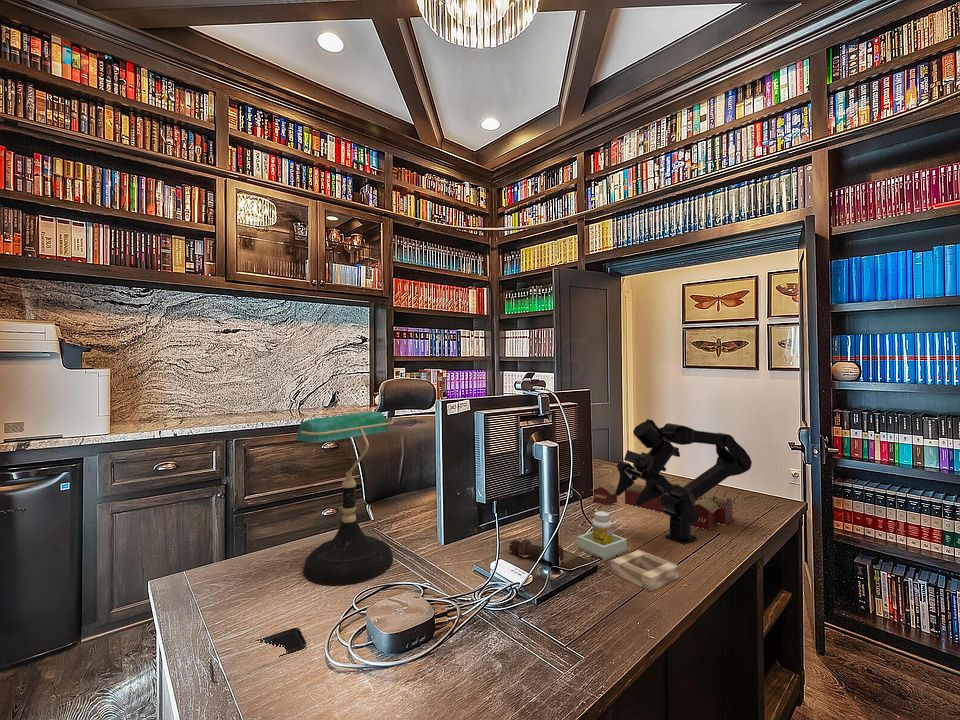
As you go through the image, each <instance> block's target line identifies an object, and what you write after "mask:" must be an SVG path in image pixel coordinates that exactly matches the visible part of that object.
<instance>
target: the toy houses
mask: <svg viewBox="0 0 960 720" xmlns="http://www.w3.org/2000/svg"><path fill="white" fill-rule="evenodd" d="M634 482H635V483H634V484H633V485H631V486H630V487H629V488H628V489H627V490H625V491H624V505H625V504H629V505H628V506H630V505H633V506H632V507H634V506H638V505H636V501H637V499H638V498H639V496H640V495H641V493H642V492H643V490H644V488H645V486H646V483H641V482H638V481H637V482H636V481H634ZM670 483H671V485H677V486H680V487H682V486H681V485H680V484H678V483H673V482H670ZM616 490H617V487H614V486H613V485H612V484H610V483H607V484H604V485H600V486H598V487H595V488H593V489H592V491H593V503H594V502H597V503H596V504H598V503H601V504H600V505H602V504H605V505H604V506H607V505H609V506H608V507H610V505H611V506H612V504H613V503H615V502H617V503H618V496H617V495H616V494H615V493H616ZM660 500H661V496H660V497H657V498H655V499H652V500H650V501H648V502H646V503H644V504H642V505H639V506H638V507H637V508H639V507H642V508H641V509H643V508H646V509H645V510H648V509H651V510H650V511H652V510H655V511H654V512H657V511H659V512H658V513H661V512H663V513H662V514H665V513H664V510H663V508H662V507H661V504H660ZM615 504H616V503H615ZM613 505H614V504H613ZM693 509H694V510H695V511H696V512H697V513H698V514H699V516H698V519H697V521H696V522H693V523H691V526H694V527H693V528H695V527H699V528H704V529H708V530H709V529H710V528H712V527H713V526H714V525H715V524H716V523H720V524H725V525H726V524H727V523H728V522H729V521H730V520H731V519H732V520H733V500H732V499H731V498H729V497H725V496H724V497H723V496H721V497H720V496H719V495H716V494H714V495H713V494H710V493H705V494H704V495H702V496H701V497H700V498H698V499H697V500H696V502H695V506H694V508H693ZM732 520H731V521H732ZM731 521H730V522H731ZM730 522H729V523H730ZM729 523H728V524H729ZM728 524H727V525H728ZM716 525H717V524H716ZM716 525H715V526H716ZM727 525H726V526H727ZM715 526H714V527H715ZM714 527H713V528H714ZM699 528H698V529H699ZM713 528H712V529H713ZM708 530H707V531H708ZM709 531H710V530H709Z"/></svg>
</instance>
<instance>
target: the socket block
mask: <svg viewBox="0 0 960 720" xmlns="http://www.w3.org/2000/svg"><path fill="white" fill-rule="evenodd" d="M610 565H611V567H610V569H611V570H610V571H611V573H612V574H614V575H616V576H618V577H619V578H622V579H624V580H626V581H629V582H630V583H631V584H635V585H637V586H638V587H641V588H643V589H645V590H646V591H649V592H653V591H655V590H657V589H659V588H661V587H663V586H665V585H667V584H669V583H671V582H673V581H675V580H677V579H680V566H679V565H678V564H676V563H673V562H671V561H669V560H666V559H663V558H661V557H659V556H656V555H653V554H651V553H648V552H645V551H643V550H640V549H638V550H635V551H632V552H630V553H627V554H625V555H622V556H619V557H617V558H614V559H612V560H611V562H610Z"/></svg>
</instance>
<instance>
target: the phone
mask: <svg viewBox="0 0 960 720" xmlns="http://www.w3.org/2000/svg"><path fill="white" fill-rule="evenodd" d="M262 639H263V640H265V641H264V642H265V643H266V644H267V643H269V644H271V643H272V645H273V646H274V644H275V645H276V647H277V646H278V645H279V644H280V646H279V647H281V645H283V646H282V647H284V646H285V647H284V648H285V649H286V652H287V651H288V652H287V653H286V654H290V653H293V652H296V651H299V650H302V649H304V648H305V647H306V645H307V642H306V639H305V637H304V635H303V634H302V631H301V629H300V628H299V627H292V628H289V629H285V630H283V631H280V632H277V633H274V634H271V635H268V636H265V637H261V638H259V639H256V640H254V641H259V640H260V641H261V642H260V643H262V642H263V640H262ZM267 641H268V642H267ZM271 641H272V642H271ZM251 642H252V641H250V643H251ZM286 654H283V655H286ZM283 655H280V656H283ZM280 656H279V657H280Z"/></svg>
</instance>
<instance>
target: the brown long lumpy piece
mask: <svg viewBox="0 0 960 720" xmlns="http://www.w3.org/2000/svg"><path fill="white" fill-rule="evenodd" d="M558 545H559V557H560V560H561V561H562V560H563V559H564V560H565V558H564V557H565V554H564V548H563V546H562V545H561V544H558ZM542 547H543V546H541V545H535V544H532V542H531V540H529V539H527V538H526V539H523V540H521V541H520V540H519V541H518V540H512V541H510V542H509V547H508V549H509V551H510V552H511V551H512V552H511V553H514V552H517V553H516V554H518V553H519V554H520V555H524V556H525V555H529V557H530V556H532V557H531V558H534V557H537V558H536V559H538V557H539V556H540V555H541V552H542ZM519 554H518V555H519ZM520 555H519V556H520ZM564 560H563V561H564Z"/></svg>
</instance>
